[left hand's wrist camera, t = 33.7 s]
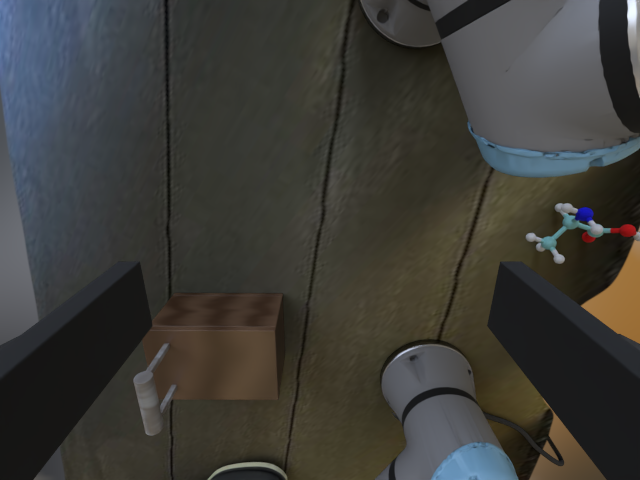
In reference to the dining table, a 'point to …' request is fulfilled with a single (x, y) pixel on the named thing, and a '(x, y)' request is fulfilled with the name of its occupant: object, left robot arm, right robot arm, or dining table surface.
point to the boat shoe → (249, 472)
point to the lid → (205, 367)
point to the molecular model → (573, 222)
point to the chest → (227, 314)
